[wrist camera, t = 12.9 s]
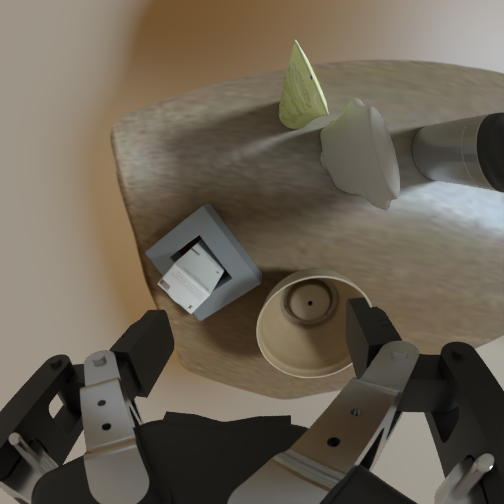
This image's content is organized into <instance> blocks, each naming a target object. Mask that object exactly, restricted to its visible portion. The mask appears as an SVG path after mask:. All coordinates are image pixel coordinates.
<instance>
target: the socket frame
mask: <svg viewBox="0 0 504 504" xmlns="http://www.w3.org/2000/svg"><path fill="white" fill-rule="evenodd" d="M198 235H200V236H201V238H202V239H203V240H204V242H205V243H206V244H207V246H208V247H209V248H210V250H211V251H212V252H213V254H214V255H215V256H216V257H217V259H218V260H219V261H220V263H221V264H222V265H223V267H224V268H225V269H226V270H227V272H228V273H229V274H228V275H227V276H225V277H224V278H222V279H221V280H219V281H218V283H217V284H216V286H215V288H214V289H213V291H212V293H211V295H210V296H209V297H208V298H207V299H206V300H205V301H204V302H203V303H202V304H201V305H200V306H199V307H198V308H197V309H196V310H195V311H194V312H193V314H194V315H195V316H196V317H197V318H198V320H199V321H202V320H203V319H205V318H207V317H208V316H210V315H211V314H213V313H215V312H216V311H218V310H220V309H221V308H223V307H224V306H226V305H228V304H229V303H231V302H232V301H234V300H236V299H237V298H239V297H240V296H242V295H244V294H245V293H247V292H248V291H250V290H252V289H253V288H255V287H256V286H258V285H260V284H261V281H262V272H261V271H260V270H259V268H258V267H257V266H256V264H255V263H254V262H253V260H252V259H251V258H250V256H249V255H248V254H247V252H246V251H245V250H244V248H243V247H242V246H241V244H240V243H239V242H238V240H237V239H236V238H235V236H234V235H233V234H232V232H231V231H230V230H229V228H228V227H227V226H226V224H225V223H224V222H223V220H222V219H221V218H220V216H219V215H218V214H217V212H216V211H215V210H214V208H213V207H212V205H211V204H210V203H207V204H205V205H203V206H202V207H200V208H199V209H198V210H197V211H195V212H194V213H193V214H192V215H190V216H189V217H188V218H186V219H185V220H184V221H183V222H181V223H180V224H179V225H178V226H176V227H175V228H174V229H173V230H171V231H170V232H169V233H168V234H167V235H165V236H164V237H163V238H162V239H160V240H159V241H158V242H157V243H156V244H154V245H153V246H152V247H151V248H150V249H148V250H147V251H146V252H145V254H146V255H147V256H148V258H149V259H150V260H151V262H152V263H153V264H154V265H155V267H156V268H157V269H158V271H159V272H160V273H161V274H162V276H164V275H165V274H166V273H167V271H168V270H169V269H170V268H171V267H172V265H173V264H174V263H175V262H176V261H177V260H178V259H180V258H181V257H182V255H181V253H180V252H179V250H180V249H181V248H183V247H184V246H185V245H187V244H188V243H189V242H191V241H192V240H193V239H195V238H196V237H197V236H198Z"/></svg>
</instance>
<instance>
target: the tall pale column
mask: <svg viewBox="0 0 504 504" xmlns="http://www.w3.org/2000/svg"><path fill="white" fill-rule="evenodd" d="M320 139H321V145H322V152H321V155H320V161H321V164H322V166H323V167H324V168H325V169H326V170H328V171H329V173H330V176H331V178H332V180H333V182H334V185H335V186H336V187H337V188H338V189H339V190H342V191H345V192H348V193H350V194H355V193H356V194H359V195H361V196H364V197H365V198H366V199H367V200H368V201H369V202H370V203H371V204H372V205H374V206H376V207H378V208H381V209H383V210H387V209H388V208H389V207H390V202H391V200H393V199H397V198H398V197H399V192H400V175H399V168H398V162H397V158H396V153H395V149H394V146H393V143H392V140H391V137H390V134H389V132H388V129H387V127H386V124H385V122H384V121H383V119H382V117H381V115H380V113H379V112H378V111H377V110H376V108H375V107H373V106H365V105H364V104H363V103H362V102H361V101H360V99H357V98H353V99H352V100H351V101H350V102H349V103H348V104H347V105H346V106H345V107H344V109H343V113H342V115H341V117H339V118H338V119H337V120H336V121H331V122H330V123H329V124H328V125H327V126H325V127H324V128H323V129H322V130H321V133H320Z"/></svg>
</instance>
